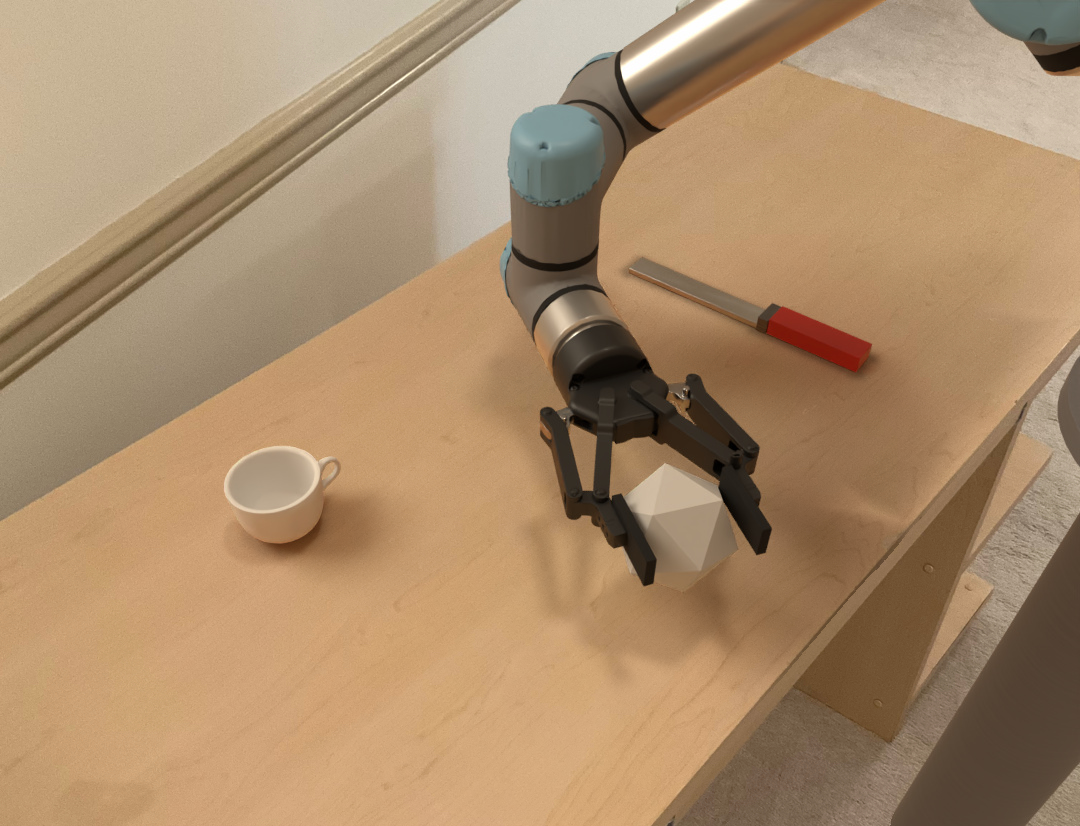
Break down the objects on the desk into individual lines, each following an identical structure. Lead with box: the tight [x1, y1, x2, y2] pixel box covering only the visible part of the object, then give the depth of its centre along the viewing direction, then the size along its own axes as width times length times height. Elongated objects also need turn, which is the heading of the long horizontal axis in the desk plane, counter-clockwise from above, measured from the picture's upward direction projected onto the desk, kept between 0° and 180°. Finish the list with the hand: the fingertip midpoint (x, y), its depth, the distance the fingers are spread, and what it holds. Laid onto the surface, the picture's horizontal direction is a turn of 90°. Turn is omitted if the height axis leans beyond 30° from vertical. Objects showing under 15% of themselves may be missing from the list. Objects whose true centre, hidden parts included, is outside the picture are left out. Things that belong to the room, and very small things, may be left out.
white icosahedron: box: [621, 462, 740, 593], centre depth 75 cm, size 8×9×10 cm
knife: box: [628, 256, 873, 373], centre depth 105 cm, size 27×3×2 cm, turn 53°
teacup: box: [223, 445, 342, 544], centre depth 85 cm, size 10×8×5 cm
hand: (707, 557), depth 71 cm, fingers closed on white icosahedron, 8 cm apart
